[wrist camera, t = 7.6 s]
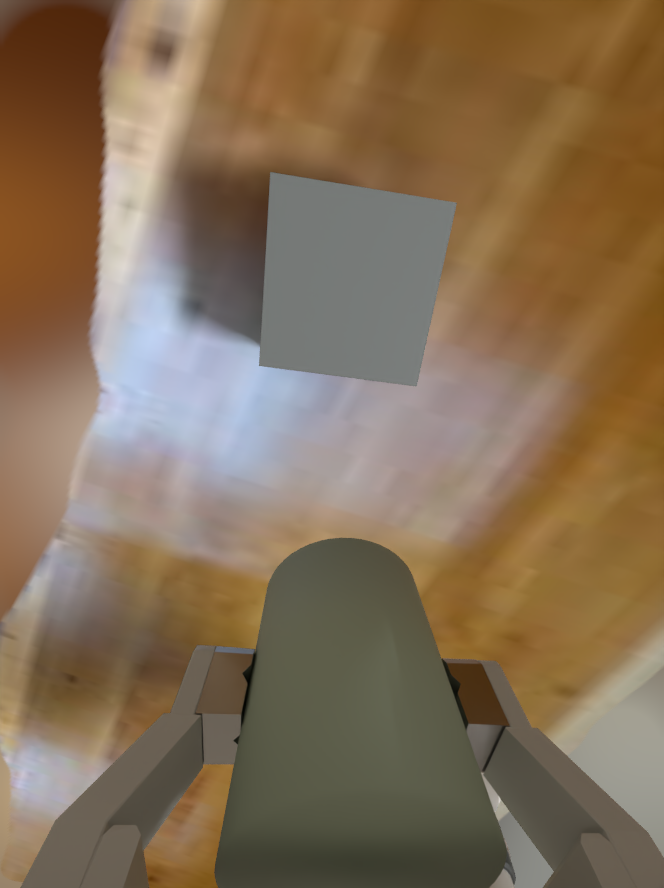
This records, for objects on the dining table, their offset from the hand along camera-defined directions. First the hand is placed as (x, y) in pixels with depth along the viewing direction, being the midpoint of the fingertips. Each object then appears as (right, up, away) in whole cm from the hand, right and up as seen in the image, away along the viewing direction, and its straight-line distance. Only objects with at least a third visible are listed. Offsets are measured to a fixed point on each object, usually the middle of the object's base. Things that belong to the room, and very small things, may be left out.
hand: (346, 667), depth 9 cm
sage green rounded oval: (0, +1, +2) cm, 2 cm away
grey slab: (+1, +16, +14) cm, 21 cm away
